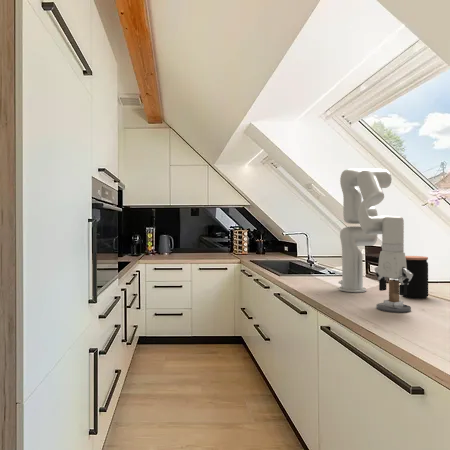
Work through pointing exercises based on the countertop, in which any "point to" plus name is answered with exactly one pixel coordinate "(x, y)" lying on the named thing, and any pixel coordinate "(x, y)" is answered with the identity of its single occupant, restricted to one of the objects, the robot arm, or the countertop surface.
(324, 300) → the countertop surface
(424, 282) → the coffee jar
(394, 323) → the countertop surface
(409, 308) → the round metal socket base
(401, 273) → the robot arm
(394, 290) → the tan wooden beam
